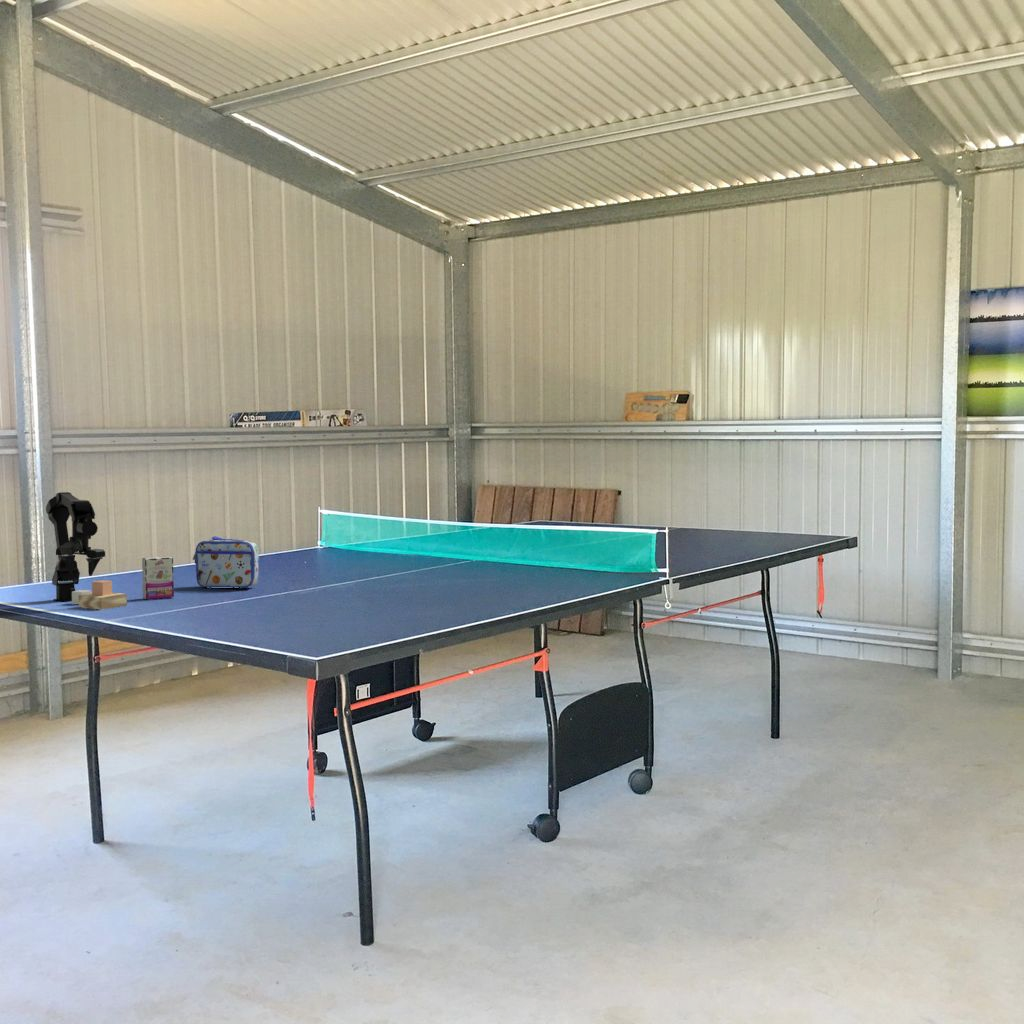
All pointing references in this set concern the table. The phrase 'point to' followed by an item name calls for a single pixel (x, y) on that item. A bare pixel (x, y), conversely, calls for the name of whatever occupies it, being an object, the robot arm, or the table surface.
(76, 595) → the white cube
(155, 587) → the candy bar box
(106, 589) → the terracotta cube
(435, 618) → the table surface
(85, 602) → the maple block
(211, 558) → the lunch box
